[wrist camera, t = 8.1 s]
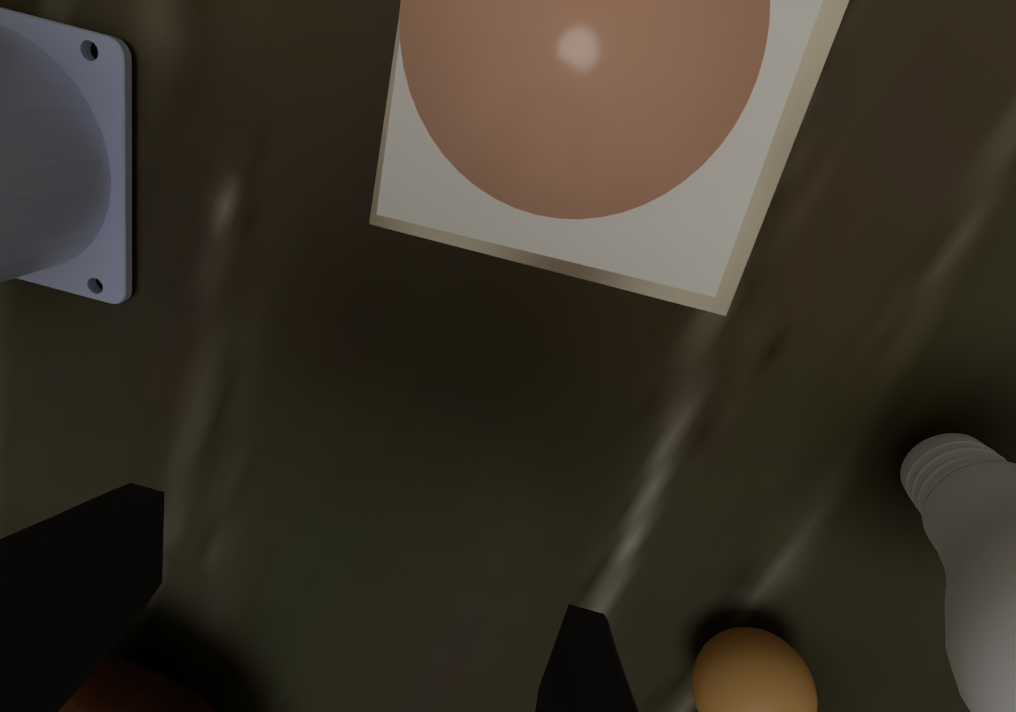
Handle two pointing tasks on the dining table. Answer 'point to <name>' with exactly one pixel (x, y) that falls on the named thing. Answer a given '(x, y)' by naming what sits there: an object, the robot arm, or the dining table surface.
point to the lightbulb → (972, 559)
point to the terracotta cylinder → (580, 93)
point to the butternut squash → (133, 691)
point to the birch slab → (756, 211)
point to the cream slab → (624, 236)
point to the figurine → (751, 674)
